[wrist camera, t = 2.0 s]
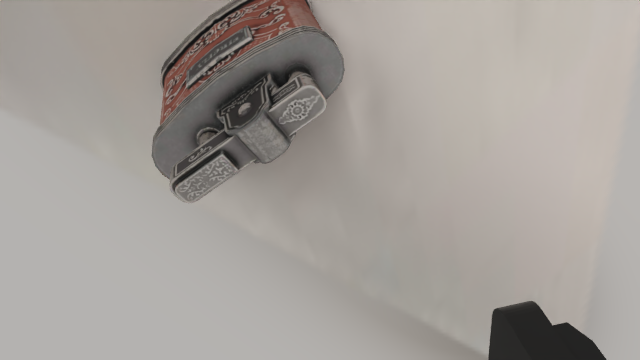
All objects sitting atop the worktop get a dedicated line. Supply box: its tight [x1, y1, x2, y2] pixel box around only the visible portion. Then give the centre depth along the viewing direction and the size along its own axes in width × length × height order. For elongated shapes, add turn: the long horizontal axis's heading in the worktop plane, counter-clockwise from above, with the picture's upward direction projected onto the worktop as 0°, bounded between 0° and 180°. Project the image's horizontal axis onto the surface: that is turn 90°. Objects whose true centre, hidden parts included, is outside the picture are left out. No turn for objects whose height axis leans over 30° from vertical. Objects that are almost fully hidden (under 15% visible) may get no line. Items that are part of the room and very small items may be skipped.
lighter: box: [152, 0, 344, 203], centre depth 22 cm, size 8×3×10 cm, turn 124°
